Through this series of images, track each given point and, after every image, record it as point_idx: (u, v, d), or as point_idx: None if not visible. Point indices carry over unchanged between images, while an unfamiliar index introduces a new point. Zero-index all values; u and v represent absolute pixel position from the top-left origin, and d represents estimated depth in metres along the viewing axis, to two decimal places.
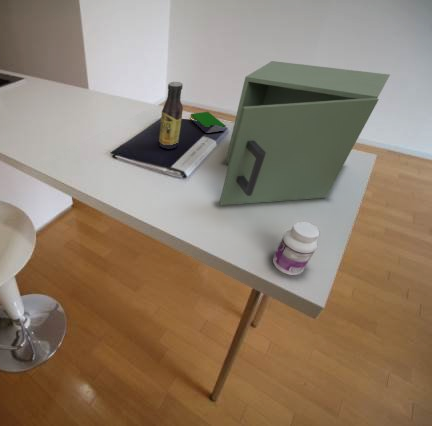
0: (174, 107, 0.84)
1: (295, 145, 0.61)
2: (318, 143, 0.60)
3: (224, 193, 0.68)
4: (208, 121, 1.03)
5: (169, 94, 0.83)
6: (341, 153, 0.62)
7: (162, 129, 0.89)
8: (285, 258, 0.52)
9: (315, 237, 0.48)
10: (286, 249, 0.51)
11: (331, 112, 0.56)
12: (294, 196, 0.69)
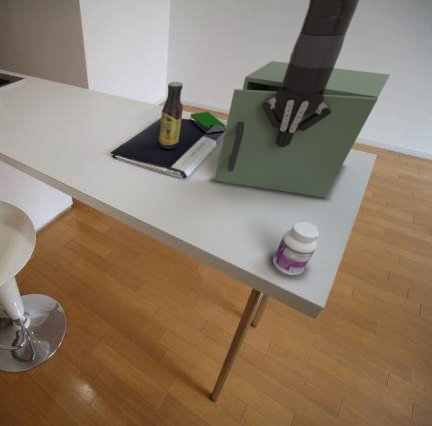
0: (174, 107, 0.84)
1: None
2: (311, 136, 0.63)
3: (217, 169, 0.76)
4: (208, 121, 1.03)
5: (169, 94, 0.83)
6: (338, 151, 0.63)
7: (162, 129, 0.89)
8: (285, 258, 0.52)
9: (315, 237, 0.48)
10: (286, 249, 0.51)
11: None
12: (289, 188, 0.72)
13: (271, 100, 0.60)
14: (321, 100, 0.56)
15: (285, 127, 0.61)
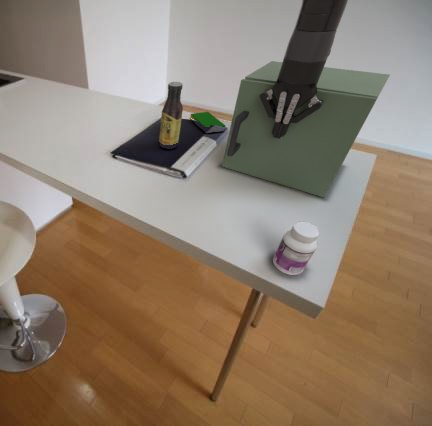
0: (174, 107, 0.84)
1: None
2: (311, 131, 0.65)
3: (224, 155, 0.81)
4: (208, 121, 1.03)
5: (169, 94, 0.83)
6: (337, 150, 0.63)
7: (162, 129, 0.89)
8: (285, 258, 0.52)
9: (315, 237, 0.48)
10: (286, 249, 0.51)
11: None
12: (289, 182, 0.74)
13: (268, 91, 0.64)
14: (312, 94, 0.59)
15: (279, 118, 0.65)
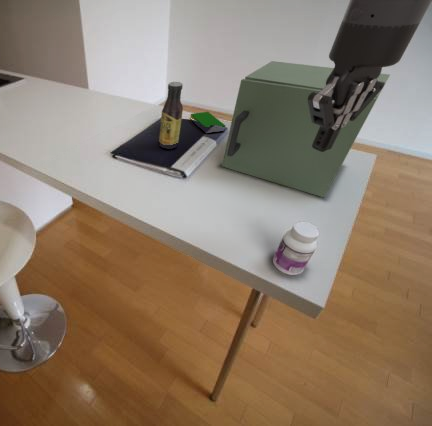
0: (174, 107, 0.84)
1: (287, 127, 0.67)
2: (311, 131, 0.65)
3: (224, 155, 0.81)
4: (208, 121, 1.03)
5: (169, 94, 0.83)
6: (337, 150, 0.63)
7: (162, 129, 0.89)
8: (285, 258, 0.52)
9: (315, 237, 0.48)
10: (286, 249, 0.51)
11: None
12: (289, 182, 0.74)
13: (329, 91, 0.38)
14: None
15: (339, 123, 0.41)
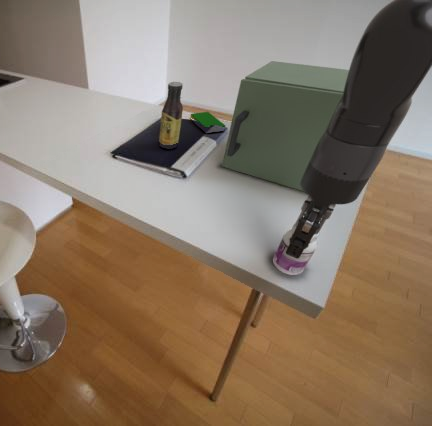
0: (174, 107, 0.84)
1: (287, 127, 0.67)
2: (311, 131, 0.65)
3: (224, 155, 0.81)
4: (208, 121, 1.03)
5: (169, 94, 0.83)
6: None
7: (162, 129, 0.89)
8: (285, 258, 0.52)
9: (315, 237, 0.48)
10: (286, 249, 0.51)
11: (322, 101, 0.61)
12: (289, 182, 0.74)
13: (315, 218, 0.43)
14: None
15: None
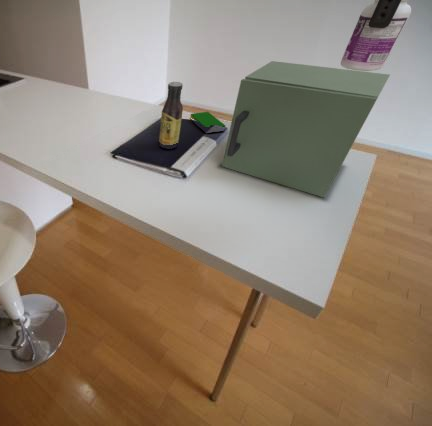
0: (174, 107, 0.84)
1: (287, 127, 0.67)
2: (311, 131, 0.65)
3: (224, 155, 0.81)
4: (208, 121, 1.03)
5: (169, 94, 0.83)
6: (337, 150, 0.63)
7: (162, 129, 0.89)
8: (365, 41, 0.40)
9: None
10: (368, 23, 0.39)
11: (322, 101, 0.61)
12: (289, 182, 0.74)
13: None
14: None
15: None
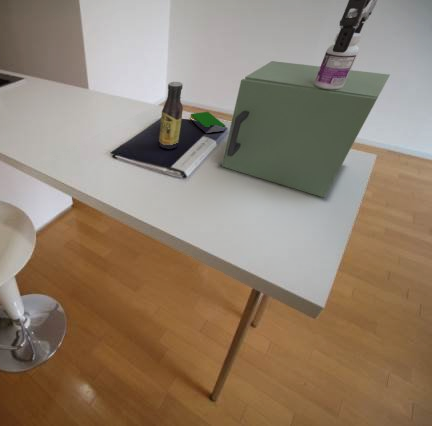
0: (174, 107, 0.84)
1: (287, 127, 0.67)
2: (311, 131, 0.65)
3: (224, 155, 0.81)
4: (208, 121, 1.03)
5: (169, 94, 0.83)
6: (337, 150, 0.63)
7: (162, 129, 0.89)
8: (329, 69, 0.58)
9: (358, 37, 0.54)
10: (330, 58, 0.57)
11: (322, 101, 0.61)
12: (289, 182, 0.74)
13: None
14: None
15: (358, 24, 0.51)
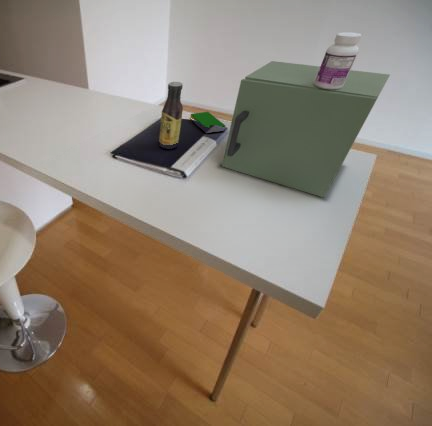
0: (174, 107, 0.84)
1: (287, 127, 0.67)
2: (311, 131, 0.65)
3: (224, 155, 0.81)
4: (208, 121, 1.03)
5: (169, 94, 0.83)
6: (337, 150, 0.63)
7: (162, 129, 0.89)
8: (328, 69, 0.58)
9: (358, 37, 0.54)
10: (330, 58, 0.57)
11: (322, 101, 0.61)
12: (289, 182, 0.74)
13: None
14: None
15: None
